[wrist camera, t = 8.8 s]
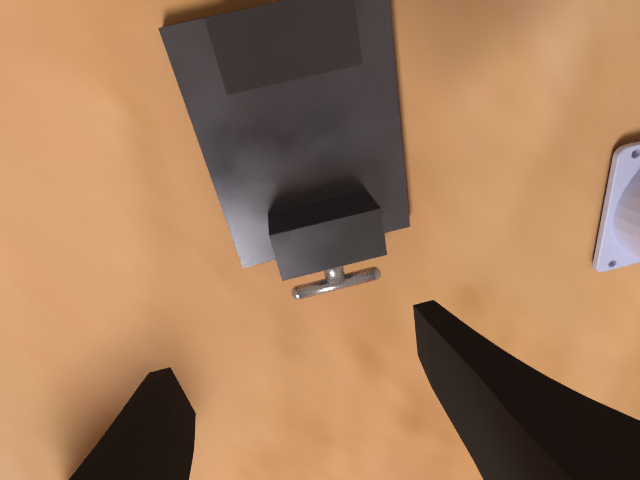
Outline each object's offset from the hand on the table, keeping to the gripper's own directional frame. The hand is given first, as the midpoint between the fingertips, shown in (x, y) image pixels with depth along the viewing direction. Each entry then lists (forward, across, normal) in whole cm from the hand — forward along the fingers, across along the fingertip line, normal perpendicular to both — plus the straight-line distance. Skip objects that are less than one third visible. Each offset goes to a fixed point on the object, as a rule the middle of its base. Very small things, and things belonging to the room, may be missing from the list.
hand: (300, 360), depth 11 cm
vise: (+9, -2, -4) cm, 10 cm away
